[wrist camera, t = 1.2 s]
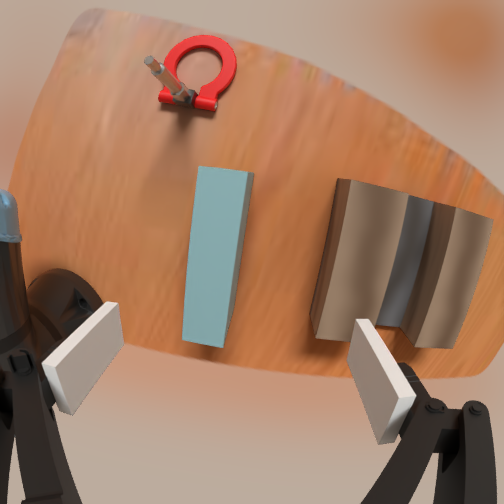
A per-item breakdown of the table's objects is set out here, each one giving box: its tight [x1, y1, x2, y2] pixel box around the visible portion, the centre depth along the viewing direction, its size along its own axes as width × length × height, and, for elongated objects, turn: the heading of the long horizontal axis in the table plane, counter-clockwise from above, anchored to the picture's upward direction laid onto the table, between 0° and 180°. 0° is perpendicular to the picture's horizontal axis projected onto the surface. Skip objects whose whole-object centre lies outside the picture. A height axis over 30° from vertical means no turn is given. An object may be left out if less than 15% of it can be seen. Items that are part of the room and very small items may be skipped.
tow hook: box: [144, 35, 237, 111], centre depth 24 cm, size 8×13×9 cm
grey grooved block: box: [310, 178, 493, 349], centre depth 31 cm, size 18×16×6 cm
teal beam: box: [182, 166, 254, 348], centre depth 30 cm, size 16×4×9 cm, turn 171°
